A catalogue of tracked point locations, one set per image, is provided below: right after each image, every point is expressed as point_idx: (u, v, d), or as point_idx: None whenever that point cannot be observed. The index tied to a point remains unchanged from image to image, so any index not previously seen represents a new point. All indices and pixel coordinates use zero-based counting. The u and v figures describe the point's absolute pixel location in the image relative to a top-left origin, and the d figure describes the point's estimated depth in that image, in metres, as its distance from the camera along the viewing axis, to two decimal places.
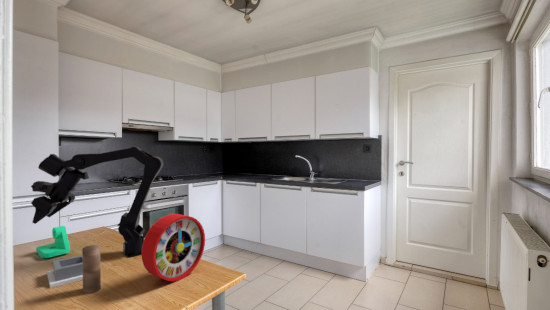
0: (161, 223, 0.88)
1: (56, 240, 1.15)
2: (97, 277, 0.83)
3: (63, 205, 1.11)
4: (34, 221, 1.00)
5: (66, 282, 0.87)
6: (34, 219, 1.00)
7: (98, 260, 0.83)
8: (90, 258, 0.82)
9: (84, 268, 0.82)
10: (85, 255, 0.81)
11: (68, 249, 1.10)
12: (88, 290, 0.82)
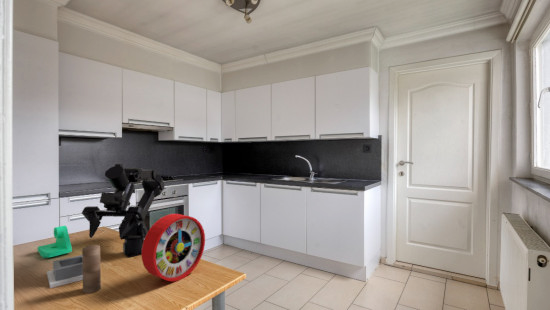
0: (161, 223, 0.88)
1: (57, 239, 1.15)
2: (97, 277, 0.83)
3: (99, 223, 0.96)
4: (122, 234, 0.92)
5: (66, 282, 0.87)
6: (123, 232, 0.92)
7: (98, 260, 0.83)
8: (90, 258, 0.82)
9: (84, 268, 0.82)
10: (85, 255, 0.81)
11: (70, 249, 1.11)
12: (88, 290, 0.82)
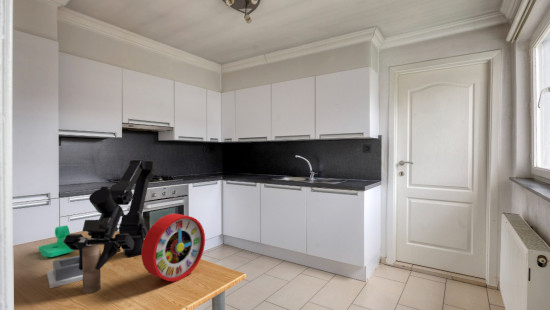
0: (161, 223, 0.88)
1: (59, 239, 1.16)
2: (97, 277, 0.83)
3: None
4: (99, 266, 0.83)
5: (66, 282, 0.87)
6: (101, 264, 0.83)
7: (98, 260, 0.83)
8: (90, 258, 0.82)
9: (84, 268, 0.82)
10: (85, 255, 0.81)
11: None
12: (88, 290, 0.82)
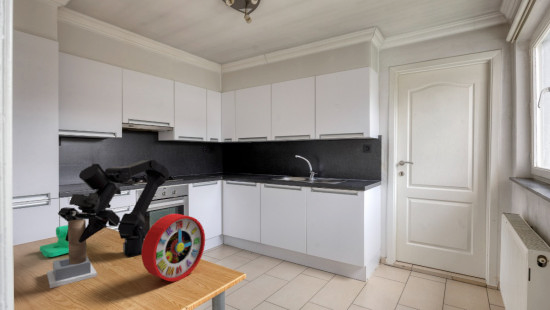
0: (161, 223, 0.88)
1: (59, 239, 1.16)
2: (80, 249, 0.86)
3: None
4: (82, 239, 0.86)
5: (66, 282, 0.87)
6: (84, 237, 0.86)
7: None
8: (73, 230, 0.85)
9: (69, 240, 0.85)
10: (69, 227, 0.85)
11: None
12: (72, 261, 0.85)
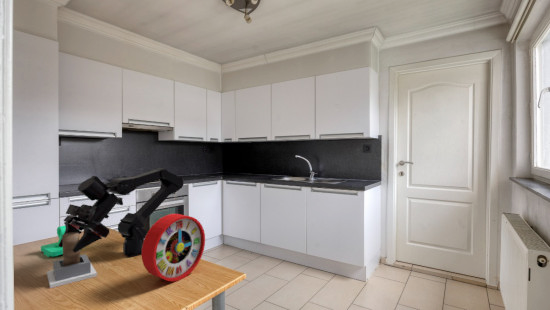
0: (161, 223, 0.88)
1: None
2: (71, 262, 0.91)
3: None
4: (76, 249, 0.90)
5: (66, 282, 0.87)
6: (77, 247, 0.90)
7: (73, 247, 0.91)
8: (65, 243, 0.90)
9: (63, 251, 0.91)
10: (62, 240, 0.91)
11: None
12: None
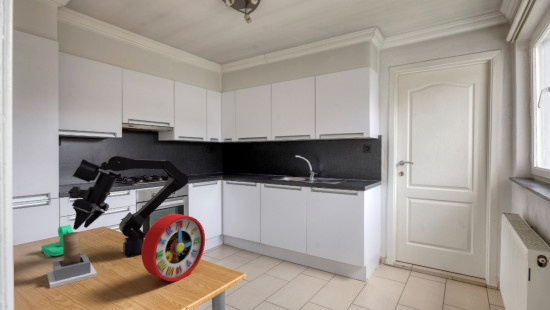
0: (161, 223, 0.88)
1: (61, 238, 1.16)
2: (71, 261, 0.91)
3: (99, 213, 1.08)
4: (75, 227, 0.96)
5: (66, 282, 0.87)
6: (75, 225, 0.96)
7: (73, 246, 0.91)
8: (66, 243, 0.91)
9: (63, 251, 0.92)
10: (63, 240, 0.91)
11: None
12: None
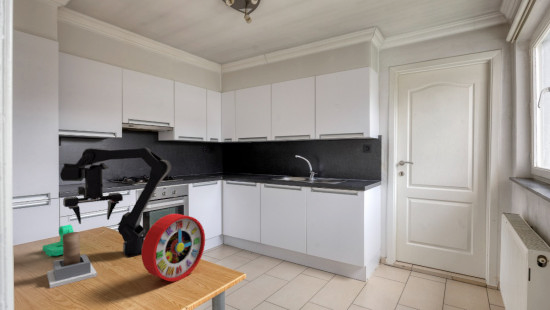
0: (161, 223, 0.88)
1: (62, 238, 1.17)
2: (71, 262, 0.91)
3: (110, 205, 1.12)
4: (78, 221, 1.07)
5: (66, 282, 0.87)
6: None
7: (73, 246, 0.91)
8: (65, 243, 0.91)
9: (63, 251, 0.92)
10: (63, 240, 0.91)
11: None
12: None
